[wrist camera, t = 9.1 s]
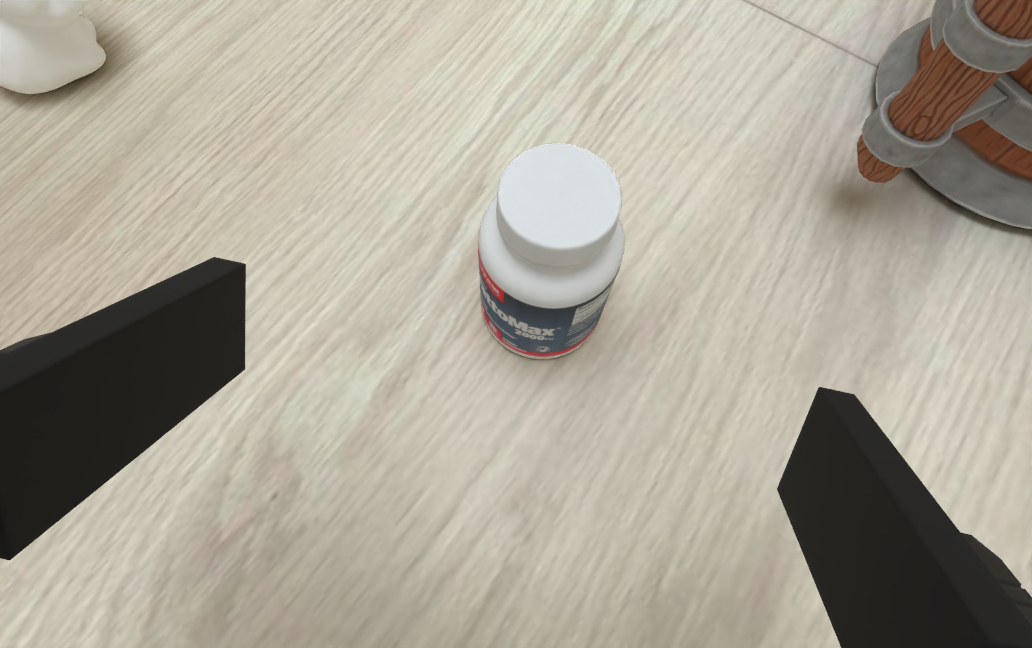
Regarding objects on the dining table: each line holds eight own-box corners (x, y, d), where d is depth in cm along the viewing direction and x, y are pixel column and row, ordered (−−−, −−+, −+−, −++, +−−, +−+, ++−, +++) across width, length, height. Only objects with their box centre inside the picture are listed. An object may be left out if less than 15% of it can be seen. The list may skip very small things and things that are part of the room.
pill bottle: (456, 310, 28) (439, 197, 20) (532, 233, 29) (546, 98, 21) (549, 386, 27) (571, 298, 18) (623, 301, 28) (674, 186, 20)
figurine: (149, 76, 32) (46, -74, 25) (-12, 132, 31) (-173, -11, 23) (121, 7, 34) (17, -152, 27) (-33, 57, 33) (-189, -98, 25)
